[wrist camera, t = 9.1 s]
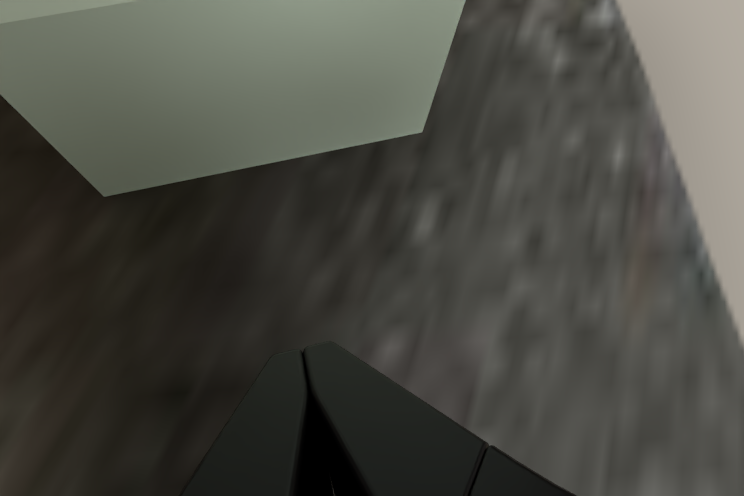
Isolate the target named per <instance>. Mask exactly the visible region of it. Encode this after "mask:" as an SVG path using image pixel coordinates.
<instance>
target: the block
mask: <svg viewBox="0 0 744 496" xmlns="http://www.w3.org/2000/svg"><path fill="white" fill-rule="evenodd" d="M464 3H465V0H0V95H1V96H2V97H3V98H4V99H5V100H6V101H7V102H8V103H9V104H10V105H12V106H13V107H14V108H15V109H16V110H17V111H18V112H19V113H20V114H21V115H22V116H23V117H24V118H25V119H26V120H27V121H28V122H29V123H30V124H31V125H32V126H33V127H34V128H35V129H36V130H37V131H38V132H39V133H40V134H41V135H42V136H43V137H44V138H45V139H46V140H47V141H48V142H49V143H50V144H51V145H52V146H53V147H54V148H55V149H56V150H57V151H58V152H59V153H60V154H61V155H62V156H63V157H64V158H65V159H66V160H67V161H68V162H69V163H70V164H71V165H72V166H73V167H74V168H75V169H76V170H77V171H78V172H79V173H80V174H81V175H82V176H83V177H84V178H85V179H86V180H87V181H89V182H90V183H91V184H92V185H93V186H94V187H95V188H96V189H97V190H98V191H99V192H100V193H101V194H102V195H103V196H104V197H106V196H111V195H116V194H121V193H126V192H131V191H136V190H141V189H146V188H151V187H155V186H160V185H165V184H170V183H175V182H180V181H185V180H190V179H195V178H200V177H205V176H210V175H214V174H219V173H224V172H229V171H234V170H239V169H244V168H249V167H254V166H259V165H264V164H269V163H273V162H278V161H283V160H288V159H293V158H298V157H303V156H308V155H313V154H318V153H323V152H328V151H332V150H337V149H342V148H347V147H352V146H357V145H362V144H367V143H372V142H377V141H382V140H387V139H391V138H396V137H401V136H406V135H411V134H416V133H421V132H423V129H424V126H425V122H426V119H427V116H428V113H429V110H430V107H431V104H432V101H433V98H434V95H435V92H436V89H437V86H438V83H439V80H440V77H441V74H442V71H443V68H444V64H445V61H446V58H447V55H448V52H449V49H450V46H451V43H452V40H453V37H454V34H455V31H456V28H457V25H458V22H459V19H460V16H461V13H462V10H463V6H464Z"/></svg>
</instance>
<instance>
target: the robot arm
mask: <svg viewBox="0 0 744 496" xmlns="http://www.w3.org/2000/svg"><path fill="white" fill-rule="evenodd" d="M303 355H304V356H303ZM330 477H331V478H330ZM331 481H332V483H331ZM332 485H333V488H332ZM333 489H334V493H335V496H576V495H574V494H573V493H571V492H569V491H567V490H565V489H563V488H561V487H560V486H558V485H556V484H554V483H553V482H551V481H549V480H548V479H546V478H544V477H543V476H541V475H539V474H538V473H536V472H534V471H533V470H531V469H530V468H528V467H526V466H525V465H523V464H521V463H520V462H518V461H516V460H515V459H513V458H512V457H510V456H509V455H507V454H506V453H504V452H503V451H501V450H500V449H498V448H496V447H495V446H493V445H491V446H489V444H488V443H487V442H485V441H484V440H482V439H481V438H479V437H478V436H476V435H475V434H473V433H472V432H470V431H469V430H467V429H466V428H464V427H462V426H461V425H459V424H458V423H456V422H455V421H453V420H452V419H450V418H449V417H447V416H446V415H444V414H443V413H441V412H440V411H438V410H437V409H435V408H433V407H432V406H430V405H429V404H427V403H426V402H424V401H423V400H421V399H420V398H418V397H417V396H415V395H414V394H412V393H411V392H409V391H407V390H406V389H404V388H403V387H401V386H400V385H398V384H397V383H395V382H394V381H392V380H391V379H389V378H388V377H386V376H385V375H383V374H382V373H380V372H378V371H377V370H375V369H374V368H372V367H371V366H369V365H368V364H366V363H365V362H363V361H362V360H360V359H359V358H357V357H356V356H354V355H352V354H351V353H349V352H348V351H346V350H345V349H343V348H342V347H340V346H339V345H337V344H336V343H334V342H331V341H327V342H323V343H319V344H315V345H311V346H307V347H306V348H305V349H304V351H303V353H302V351H301V350H299V349H294V350H290V351H286V352H282V353H278V354H274V355H273V356H272V357H270V359H269V360H268V362H267V363H266V365H265V366H264V368H263V369H262V371H261V372H260V374H259V375H258V377H257V378H256V380H255V381H254V383H253V384H252V386H251V387H250V389H249V390H248V392H247V393H246V395H245V396H244V398H243V399H242V401H241V402H240V404H239V405H238V407H237V408H236V410H235V411H234V413H233V414H232V416H231V417H230V419H229V420H228V422H227V423H226V425H225V426H224V428H223V429H222V431H221V432H220V434H219V436H218V437H217V439H216V440H215V442H214V443H213V445H212V446H211V448H210V449H209V451H208V452H207V454H206V455H205V457H204V458H203V460H202V461H201V463H200V464H199V466H198V467H197V469H196V470H195V472H194V473H193V475H192V476H191V478H190V479H189V481H188V482H187V484H186V485H185V487H184V488H183V490H182V491H181V493H180V494H179V496H334V494H333Z"/></svg>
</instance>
